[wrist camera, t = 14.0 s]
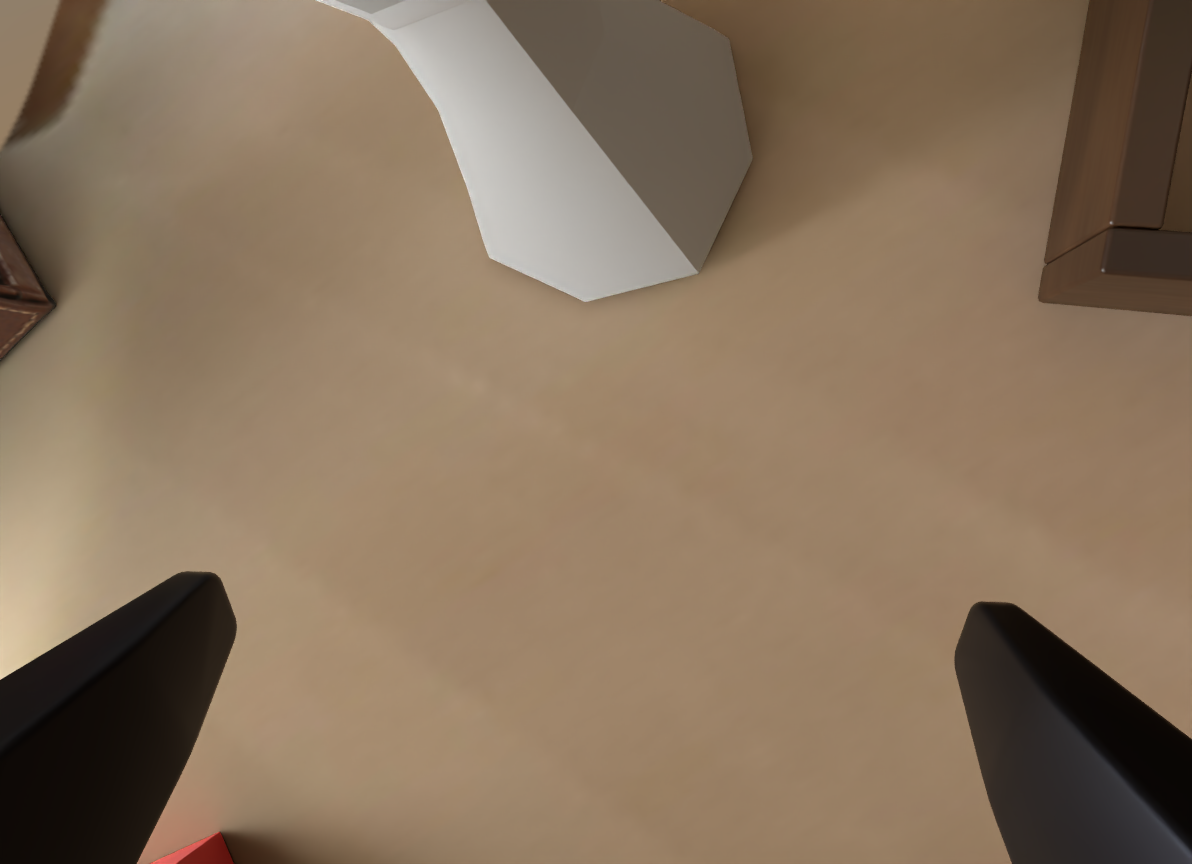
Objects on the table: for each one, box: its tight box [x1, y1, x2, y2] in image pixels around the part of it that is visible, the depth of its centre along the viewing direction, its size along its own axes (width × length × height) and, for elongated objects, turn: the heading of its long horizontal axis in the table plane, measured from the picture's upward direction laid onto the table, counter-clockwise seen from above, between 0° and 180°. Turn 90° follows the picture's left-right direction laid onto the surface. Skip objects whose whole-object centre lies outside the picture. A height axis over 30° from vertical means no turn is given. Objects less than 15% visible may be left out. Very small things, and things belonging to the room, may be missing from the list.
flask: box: [316, 0, 753, 302], centre depth 13 cm, size 7×7×10 cm
